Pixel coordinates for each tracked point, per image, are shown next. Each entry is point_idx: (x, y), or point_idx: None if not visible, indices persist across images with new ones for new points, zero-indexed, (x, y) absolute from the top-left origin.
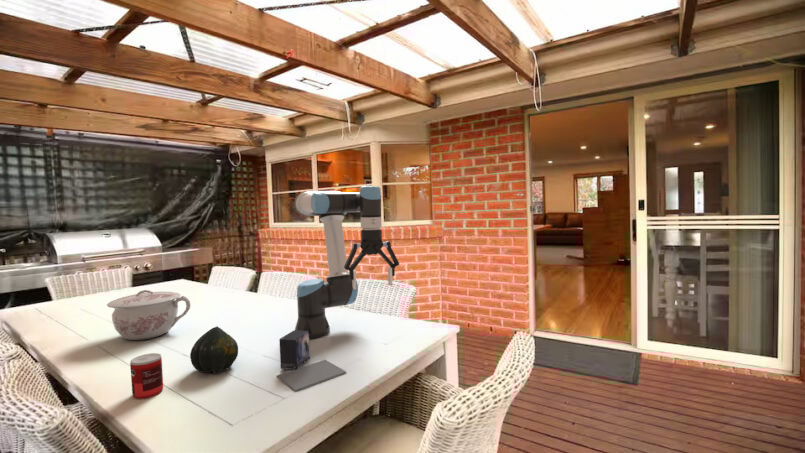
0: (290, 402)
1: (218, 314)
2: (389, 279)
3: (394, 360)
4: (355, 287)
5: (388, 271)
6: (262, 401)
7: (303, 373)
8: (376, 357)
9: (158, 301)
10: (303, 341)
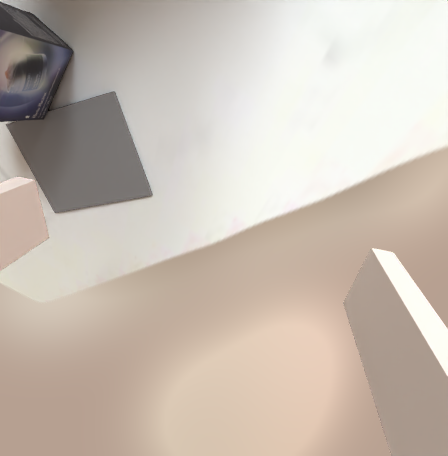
0: (53, 238)
1: None
2: (370, 328)
3: (276, 197)
4: (31, 243)
5: (440, 410)
6: None
7: (62, 150)
8: (246, 152)
9: None
10: (4, 82)
